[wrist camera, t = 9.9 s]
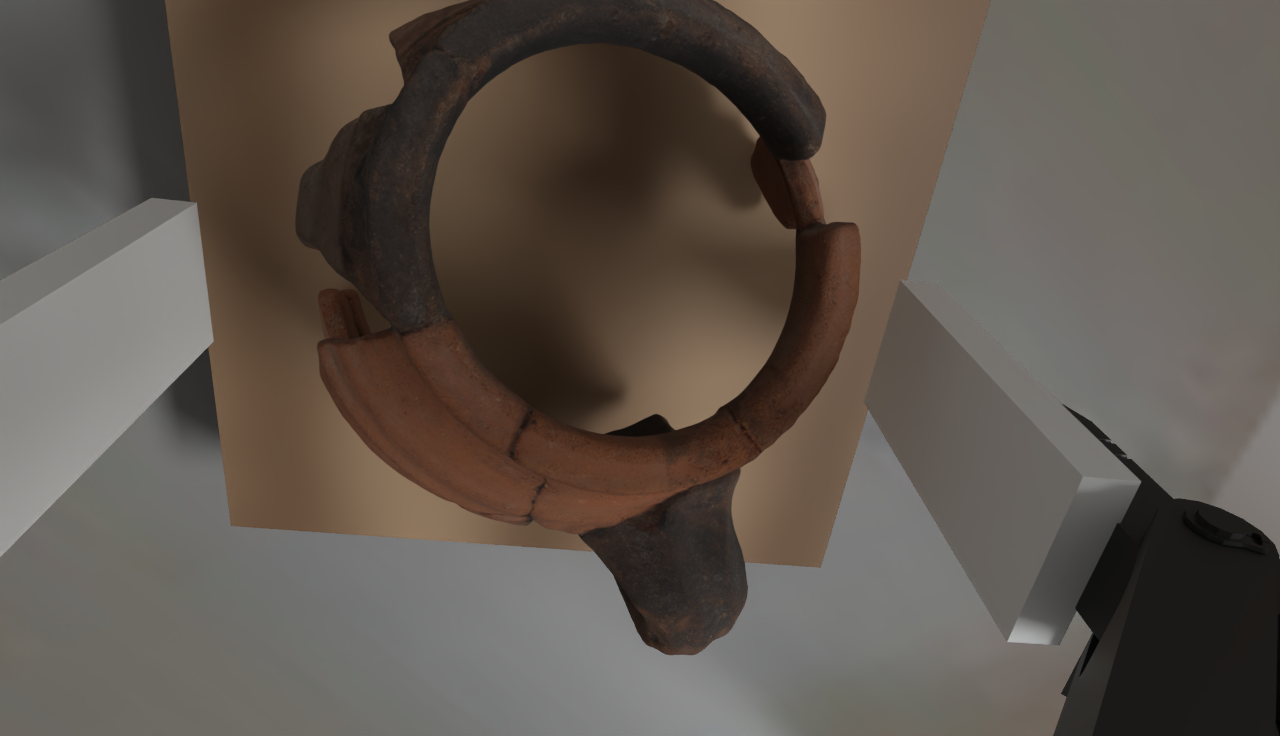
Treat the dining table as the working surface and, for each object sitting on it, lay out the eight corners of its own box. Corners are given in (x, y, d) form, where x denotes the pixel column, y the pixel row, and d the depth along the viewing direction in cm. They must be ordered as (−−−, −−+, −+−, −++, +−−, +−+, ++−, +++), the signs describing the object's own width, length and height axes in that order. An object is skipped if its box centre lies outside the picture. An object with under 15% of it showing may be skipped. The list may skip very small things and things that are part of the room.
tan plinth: (274, 457, 22) (231, 526, 20) (216, -183, 16) (138, -212, 13) (795, 499, 24) (820, 567, 21) (947, -69, 17) (1012, -73, 14)
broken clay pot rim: (219, 189, 16) (111, 52, 9) (607, 27, 19) (786, -188, 11) (497, 663, 19) (607, 889, 11) (807, 456, 21) (1070, 520, 14)
